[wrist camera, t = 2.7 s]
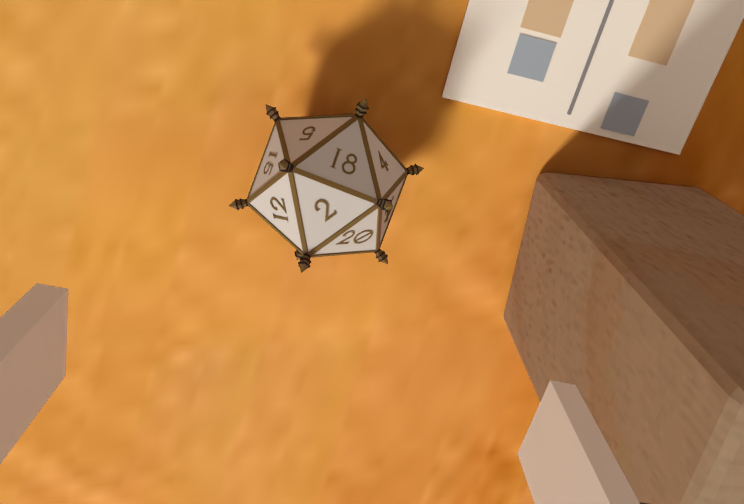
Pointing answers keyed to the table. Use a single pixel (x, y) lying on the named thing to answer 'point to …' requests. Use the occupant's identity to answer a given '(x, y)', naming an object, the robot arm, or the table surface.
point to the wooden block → (640, 326)
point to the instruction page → (595, 63)
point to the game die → (327, 185)
